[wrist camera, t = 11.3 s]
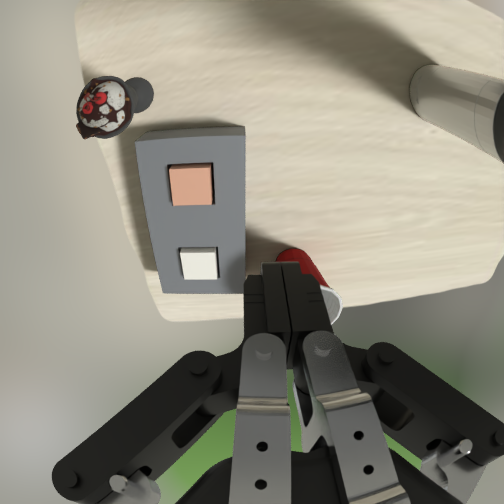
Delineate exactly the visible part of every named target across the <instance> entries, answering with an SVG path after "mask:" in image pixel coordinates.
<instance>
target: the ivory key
mask: <svg viewBox="0 0 504 504" xmlns="http://www.w3.org/2000/svg"><path fill="white" fill-rule="evenodd" d="M180 256H181V262H182V268H183V274H184V279H188V280H210V279H217V274H218V263H219V261H218V247H182V248H181V251H180Z"/></svg>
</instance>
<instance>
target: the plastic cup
mask: <svg viewBox="0 0 504 504" xmlns="http://www.w3.org/2000/svg"><path fill="white" fill-rule="evenodd" d="M275 262H299V264H300V268H301V272H302V274H312V275H313V276H314V277H315V278H316V279H317V281H318V282H319V284H320V287H321V291H322V294H323V297H324V302H325V304H326V308H327V311H328V315H329V318H330V322H331V325H332V324H333V323H334V322H335V321H336V319H337V318H338V317H339V315H340V313H341V310H342V308H343V305H342V299H341V297H340V296H339V295H338V294H337V293H336V292H335V291H334V290H333V289H332V288H330V287H329V286H328V285H327V283H326V282H325V280H324V278H323V277H322V275H321V274H320V272H319V270H318V269H317V267H316V266H315V265H314V263H313V262H312V260H311V258H310V257H309V256H308V255H307V254H306V253H305V252H304V251H302V250H300V249H289V250H285V251H284V252H282V253H281V254H279V256H278V257H277V259H276V261H275Z"/></svg>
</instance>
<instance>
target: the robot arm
mask: <svg viewBox="0 0 504 504" xmlns="http://www.w3.org/2000/svg"><path fill="white" fill-rule="evenodd" d="M410 98H411V102H412V105H413V107H414V109H415V111H416V113H417V114H418V115H419V116H420V117H421V118H422V119H423V120H425V121H427V122H429V123H431V124H433V125H435V126H437V127H439V128H441V129H443V130H445V131H447V132H449V133H451V134H453V135H455V136H457V137H459V138H461V139H463V140H465V141H466V142H468V143H470V144H472V145H474V146H475V147H477V148H479V149H480V150H482V151H484V152H486V153H487V154H489V155H491V156H492V157H494V158H496V159H497V160H499V161H500V162H502V163H503V164H504V80H503V79H499V78H495V77H491V76H488V75H484V74H479V73H475V72H470V71H466V70H461V69H456V68H451V67H445V66H438V65H425V66H423V67H421V68H420V69H419V70H417V71H416V73H415V74H414V76H413V78H412V80H411V84H410ZM243 288H244V339H243V341H242V343H241V345H240V346H239V347H238V348H237V349H235V350H234V351H232V352H230V353H227V354H224V355H221V356H217V357H216V356H214V355H213V354H211V353H209V352H206V351H193V352H190V353H188V354H186V355H184V356H183V357H182V358H181V359H180V360H179V361H177V362H176V363H175V364H174V365H173V366H172V367H171V368H170V369H168V370H167V371H166V372H165V373H164V374H163V375H162V376H160V377H159V378H158V379H157V380H156V381H155V382H154V383H152V384H151V385H150V386H149V387H148V388H147V389H145V390H144V391H143V392H142V393H141V394H140V395H139V396H138V397H136V398H135V399H134V400H133V401H131V402H130V403H129V404H128V405H127V406H126V407H124V408H123V409H122V410H121V411H120V412H118V413H117V414H116V415H115V416H114V417H113V418H111V419H110V420H109V421H108V422H107V423H105V424H104V425H103V426H102V427H101V428H99V429H98V430H97V431H96V432H95V433H93V434H92V435H91V436H90V437H89V438H87V439H86V440H85V441H84V442H82V443H81V444H80V445H79V446H77V447H76V448H75V449H74V450H73V451H71V452H70V453H69V454H68V455H66V456H65V457H64V458H63V459H61V460H60V461H59V462H58V463H57V464H56V465H55V467H54V468H53V471H52V481H53V484H54V487H55V489H56V490H57V491H58V493H59V494H60V495H61V496H63V497H64V498H66V499H68V500H71V501H74V502H77V503H79V504H158V503H159V501H160V497H161V493H160V489H159V486H158V485H157V483H156V482H155V480H156V479H157V478H158V477H159V476H161V475H162V474H163V473H164V472H165V471H166V470H167V469H168V468H169V467H170V466H171V465H173V464H174V463H175V462H176V461H177V460H178V459H179V458H180V457H181V456H182V455H183V454H184V453H185V452H186V451H187V450H188V449H189V448H190V447H191V446H192V445H193V444H194V443H195V442H196V441H197V440H198V439H199V438H200V437H201V436H202V435H203V434H204V433H205V432H206V431H207V430H208V429H209V428H210V427H211V426H212V425H213V424H214V423H215V422H216V421H217V420H218V419H219V417H221V416H222V415H223V413H224V412H226V411H229V410H233V409H236V408H237V410H236V421H235V434H234V446H233V457H230V458H227V459H225V460H223V461H220V462H218V463H217V464H215V465H214V466H212V467H211V468H210V469H209V470H207V471H206V472H205V473H204V474H203V475H202V476H201V477H200V478H199V479H198V480H197V482H196V483H195V484H194V485H193V486H192V487H191V488H190V489H189V490H188V491H187V492H186V493H185V494H184V495H183V496H182V497H181V498H180V499H179V500H178V501H177V502H176V503H175V504H466V503H467V501H468V499H469V498H470V496H471V494H472V492H473V491H474V489H475V487H476V485H477V483H478V481H479V480H480V478H481V476H482V474H483V471H484V470H485V468H486V465H487V464H488V463H490V462H492V461H494V460H495V459H497V458H499V457H500V456H502V455H504V423H502V422H501V421H500V420H498V419H497V418H495V417H494V416H493V415H491V414H490V413H488V412H487V411H486V410H484V409H483V408H481V407H480V406H479V405H477V404H476V403H474V402H473V401H472V400H470V399H469V398H467V397H466V396H465V395H463V394H462V393H460V392H459V391H458V390H456V389H455V388H453V387H452V386H451V385H449V384H448V383H446V382H445V381H444V380H442V379H441V378H439V377H438V376H437V375H435V374H434V373H432V372H431V371H429V370H428V369H427V368H425V367H424V366H423V365H421V364H420V363H418V362H417V361H415V360H414V359H413V358H411V357H410V356H408V355H407V354H406V353H404V352H403V351H401V350H400V349H398V348H397V347H396V346H394V345H392V344H390V343H385V342H380V343H375V344H373V345H372V346H371V347H370V348H369V349H368V350H366V349H361V348H356V347H351V346H348V345H345V344H344V343H342V341H341V340H340V338H338V337H337V336H336V335H335V334H334V332H333V329H332V326H331V322H330V318H329V315H328V311H327V308H326V304H325V302H324V297H323V294H322V291H321V287H320V284H319V282H318V281H317V279H316V278H315V277H314V276H313V275H312V274H302V272H301V268H300V264H299V262H261V275H248V277H247V279H246V280H245V282H244V284H243ZM287 369H293V372H294V381H293V391H294V396H295V400H296V405H297V409H298V414H299V419H300V424H301V429H302V448H303V452H296V451H291V424H290V407H289V404H288V401H287ZM383 432H384V433H386V434H387V435H388V436H390V437H391V438H392V439H394V440H395V441H396V442H398V443H399V444H401V445H402V446H403V447H405V448H406V449H407V450H409V451H410V452H411V453H413V454H414V455H415V456H417V457H418V458H420V459H421V460H422V464H421V468H420V471H419V470H418V469H417V468H415V467H414V466H413V465H412V464H410V463H409V462H408V461H407V460H405V459H404V458H403V457H402V456H400V455H399V454H398V453H396V452H395V451H393V450H392V449H390V448H388V445H387V442H386V439H385V436H384V433H383Z"/></svg>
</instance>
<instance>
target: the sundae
mask: <svg viewBox="0 0 504 504" xmlns="http://www.w3.org/2000/svg"><path fill="white" fill-rule="evenodd" d="M153 96H154V92H153V88H152V86H151V84H150V83H149V82H148V81H147V80H145V79H143V78H132V79H129V80H127V81H126V82H124V81H123V80H122V79H120V78H118V77H114V76H103V77H99V78H94V79H92V80H91V81H90V82H89V83H88V84H87V85H86V86H85V87H84V89H83V90H82V92H81V94H80V97H79V100H78V103H77V118H78V121H79V123H78V124H77V125H76V127H77V129H78V131H79V133H80V134H81V135H82V137H83V139H87V138H89V137H94V136H95V137H97V138H102V139H107V138H111V137H114V136H116V135H118V134H119V133H121V132H122V131H123V130H125V129H126V128H127V127H128V125H129V124H130V122H131V120H132V118H133V114H134V113H139V112H142V111H144V110H146V109H147V108H148V107H149V106H150V104H151V103H152V101H153Z"/></svg>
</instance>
